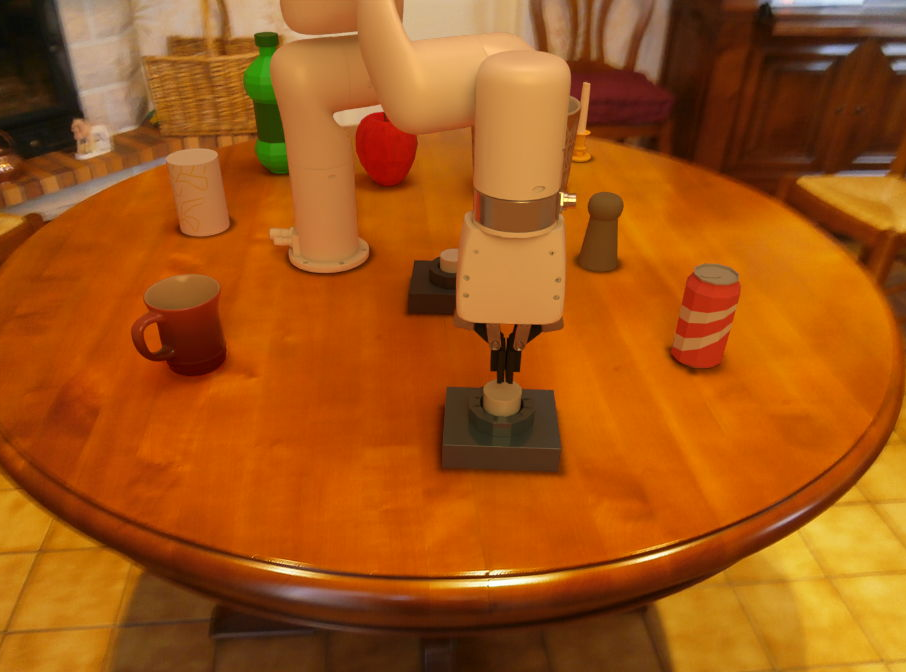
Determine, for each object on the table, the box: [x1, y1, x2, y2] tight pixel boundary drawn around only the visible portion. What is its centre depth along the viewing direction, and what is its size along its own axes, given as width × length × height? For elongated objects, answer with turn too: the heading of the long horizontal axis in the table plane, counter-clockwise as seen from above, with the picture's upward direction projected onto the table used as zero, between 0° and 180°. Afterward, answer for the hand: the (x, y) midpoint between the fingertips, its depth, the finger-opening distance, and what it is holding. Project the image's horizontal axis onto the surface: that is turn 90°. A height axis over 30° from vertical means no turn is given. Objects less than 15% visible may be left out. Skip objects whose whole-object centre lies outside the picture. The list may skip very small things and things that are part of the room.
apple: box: [354, 111, 419, 187], centre depth 138 cm, size 12×12×13 cm
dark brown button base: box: [408, 256, 457, 315], centre depth 104 cm, size 12×10×5 cm
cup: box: [165, 147, 231, 237], centre depth 122 cm, size 8×8×12 cm
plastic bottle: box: [242, 31, 289, 175], centre depth 140 cm, size 10×10×25 cm
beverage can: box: [670, 263, 742, 369], centre depth 89 cm, size 6×6×12 cm
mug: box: [130, 273, 228, 378], centre depth 88 cm, size 12×9×10 cm
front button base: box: [441, 385, 562, 473], centre depth 79 cm, size 12×10×5 cm
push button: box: [439, 248, 459, 273], centre depth 102 cm, size 4×4×2 cm
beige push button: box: [483, 378, 522, 416], centre depth 77 cm, size 4×4×2 cm
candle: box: [572, 81, 592, 163], centre depth 149 cm, size 5×5×16 cm
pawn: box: [577, 191, 625, 273], centre depth 111 cm, size 6×6×11 cm
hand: (504, 375), depth 75 cm, fingers closed
